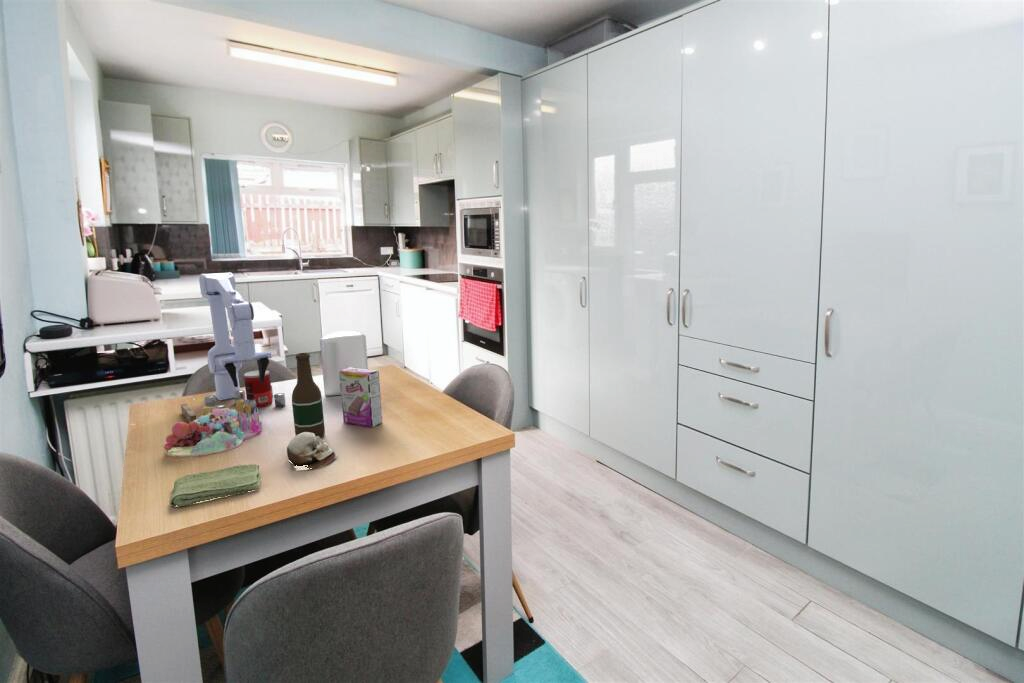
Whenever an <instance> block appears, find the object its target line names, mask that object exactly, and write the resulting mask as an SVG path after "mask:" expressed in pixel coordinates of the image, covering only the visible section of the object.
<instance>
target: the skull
mask: <svg viewBox="0 0 1024 683" xmlns="http://www.w3.org/2000/svg"><path fill="white" fill-rule="evenodd" d="M286 455H287V458H288V459H287V460H290V461H291V462H292V463H293V464H292V463H291V464H292V466H293V465H294V466H296V465H297V466H303V465H308V467H307V466H305V467H307V468H309V469H310V468H312V469H311V470H315V468H316V469H318V468H321V467H324V466H326V465H327V464H329V463H331V462H333V460H334V459H335V457H336V453H335V451H334V450H333V449H331V447H329V444H328V443H327V442H325V441H324V440H323V438H322V439H321V438H320V437H319V436H317V437H316V436H315V434H314V433H310V432H303V433H300V434H298V435H297V436H296V435H295V436H294V437H293V438H292V439H291V440H290V441H289V443H288V444H287V447H286ZM294 466H293V467H294Z"/></svg>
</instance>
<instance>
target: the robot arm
mask: <svg viewBox="0 0 1024 683" xmlns="http://www.w3.org/2000/svg"><path fill="white" fill-rule="evenodd" d="M198 277H199V279H198V282H199V288H200V294H201V297H202V298H204V299H207V300H208V303H209V308H210V316H211V325H212V329H213V330H212V331H213V336H214V344H215V345H213V346H212V347H211V348H210V349H209V350H208V351H207V366H208V370H209V372H210V373H211V374H214V384H215V392H216V393H213V396H215V398H216V400H217V401H225V400H231V399H235V396H234V392H235V391H238V390H241V387H240V380H239V373H238V372H239V371H240V370H241V368H242V367H243V363H245V362H251V361H253V362H254V361H256V363H257V367H258V370H259V379H260V382H264V377H265V372H266V370H267V369H268V366H269V364H270V359H273V358H272V352H271V351H261V352H256V344H255V336H254V328H253V320H254V318H255V316H254V315H255V310H254V306H253V305H252V303H251V301H246V300H245V299H244V298H243V296H242V295H241V293H240V292H239V291H237V290H235V289H236V279H235V276H234V274H233V273H232V272H230V271H228V272H217V273H215V272H214V273H201V274H199V276H198ZM228 321H229V325H228ZM229 326H230V328H231V329H232V338H233V344H231V340H230V333H229V332H230V331H229Z"/></svg>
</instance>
